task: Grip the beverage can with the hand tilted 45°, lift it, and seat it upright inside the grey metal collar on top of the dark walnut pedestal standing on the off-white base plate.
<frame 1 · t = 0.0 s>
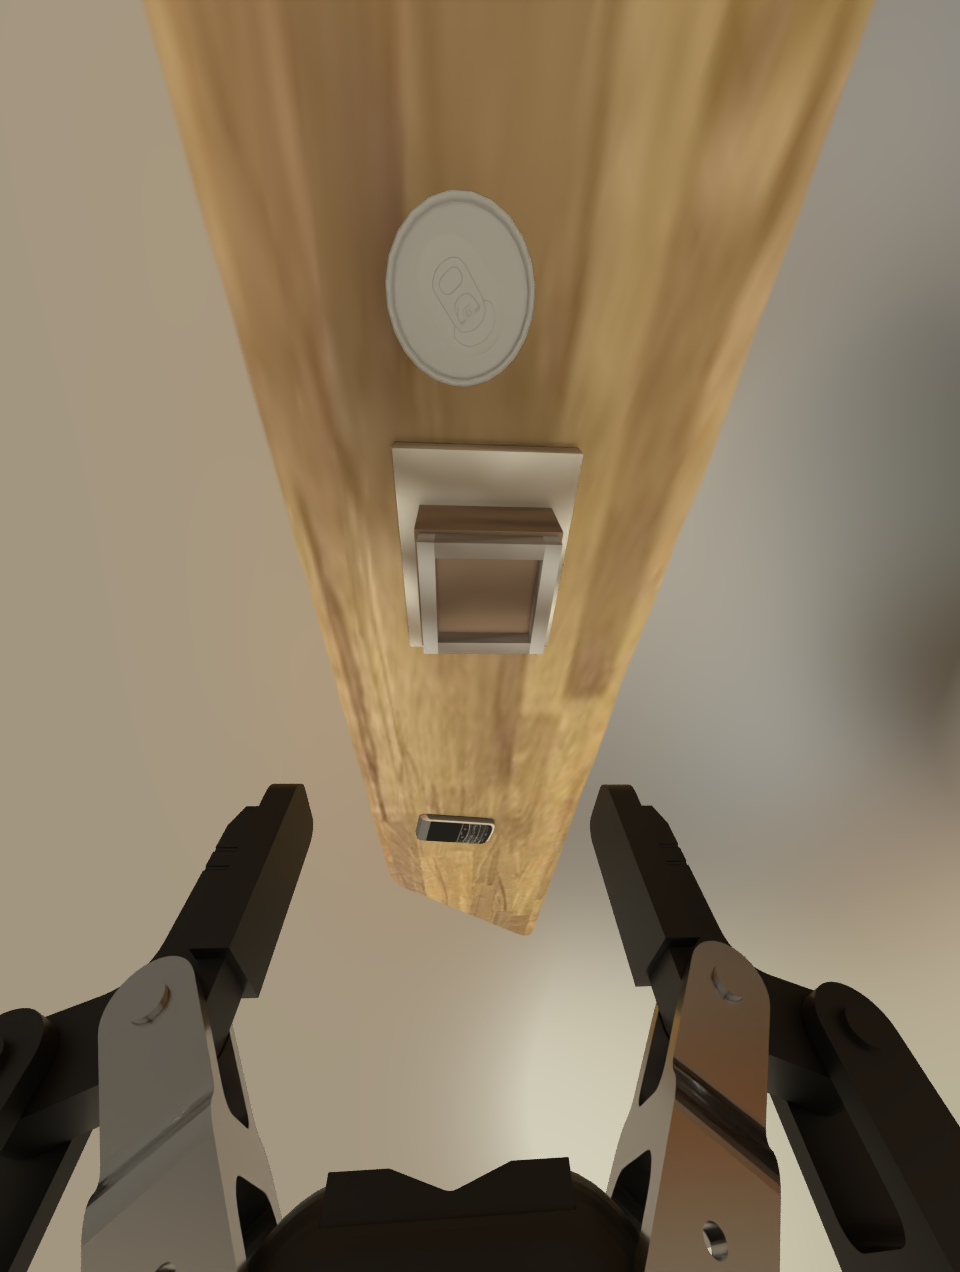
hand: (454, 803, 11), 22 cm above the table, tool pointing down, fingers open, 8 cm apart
cell phone: (455, 821, 59), on the table
pedestal base: (482, 555, 31), on the table
beverage can: (461, 306, 22), on the table
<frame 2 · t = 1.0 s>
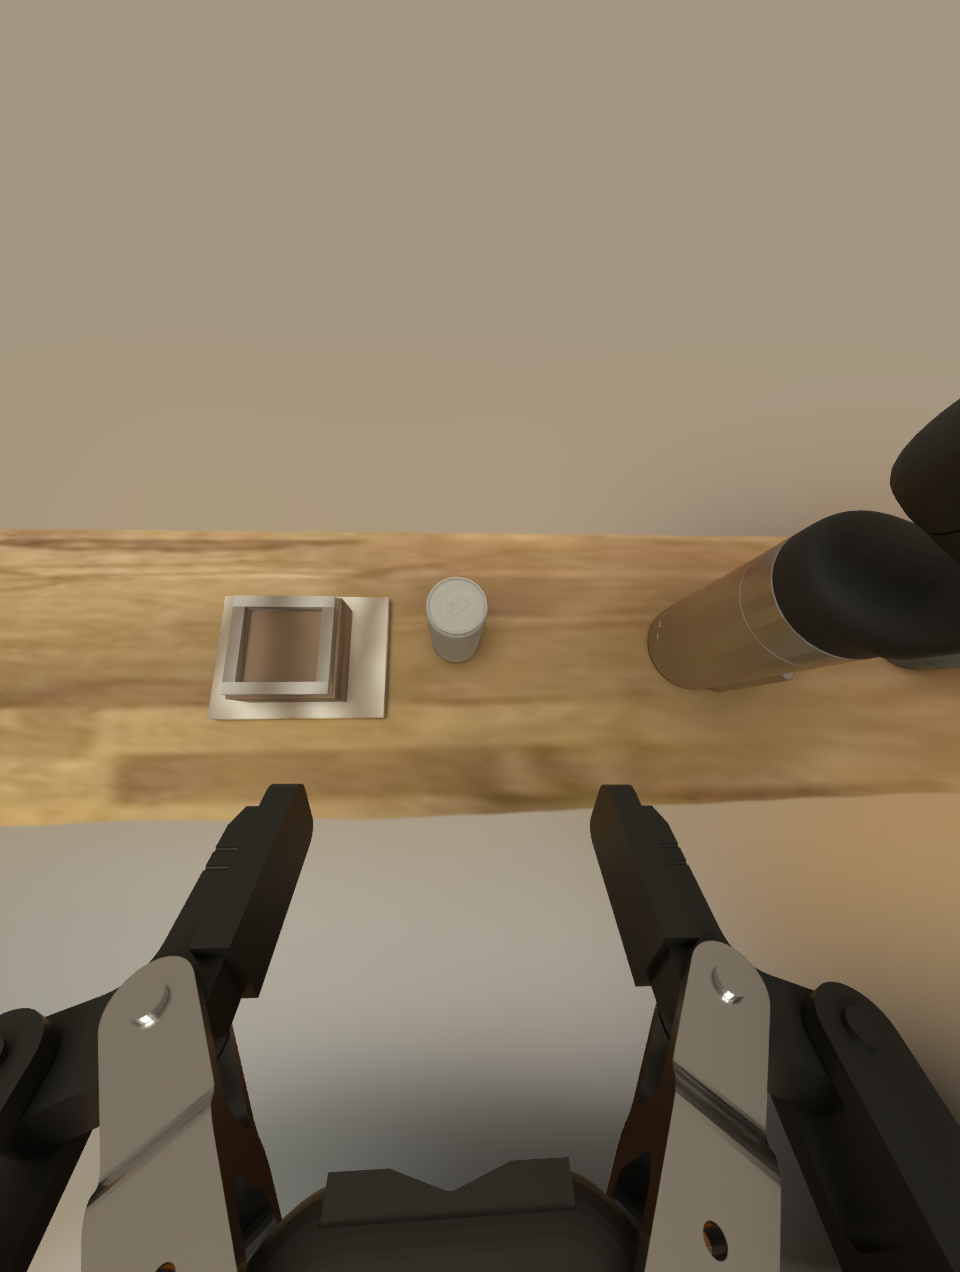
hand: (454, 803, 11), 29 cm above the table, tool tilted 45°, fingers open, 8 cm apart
pedestal base: (308, 658, 40), on the table
bottle: (899, 633, 45), on the table
beverage can: (456, 641, 42), on the table
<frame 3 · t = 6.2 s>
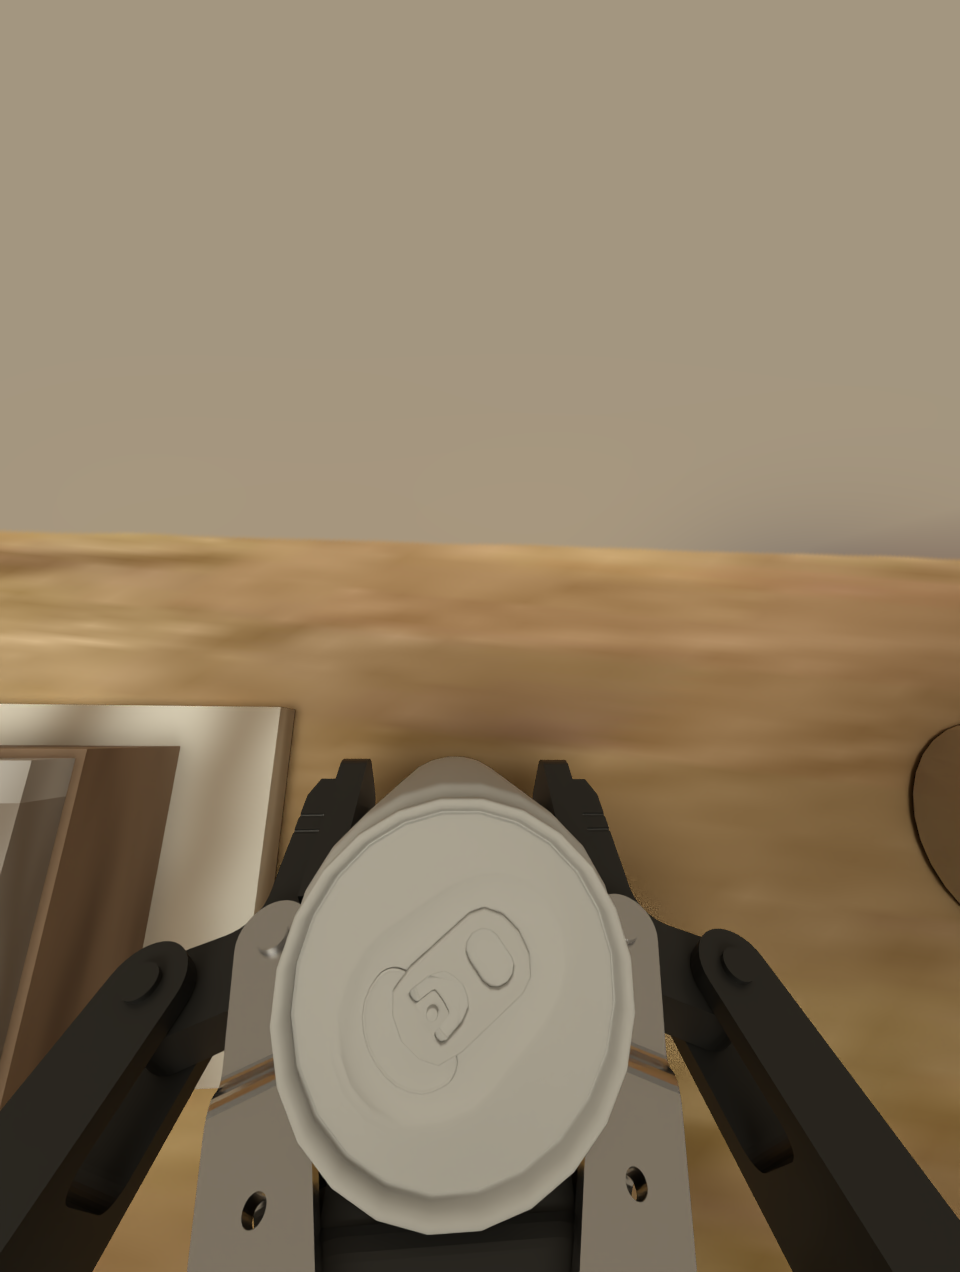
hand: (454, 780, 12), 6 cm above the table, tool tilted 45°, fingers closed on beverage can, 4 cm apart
pedestal base: (59, 867, 15), on the table
beverage can: (452, 813, 17), on the table, touching gripper
when the fingers open (12 cm above the table, at t = 10.7 s): beverage can stays where it is, resting on pedestal base.
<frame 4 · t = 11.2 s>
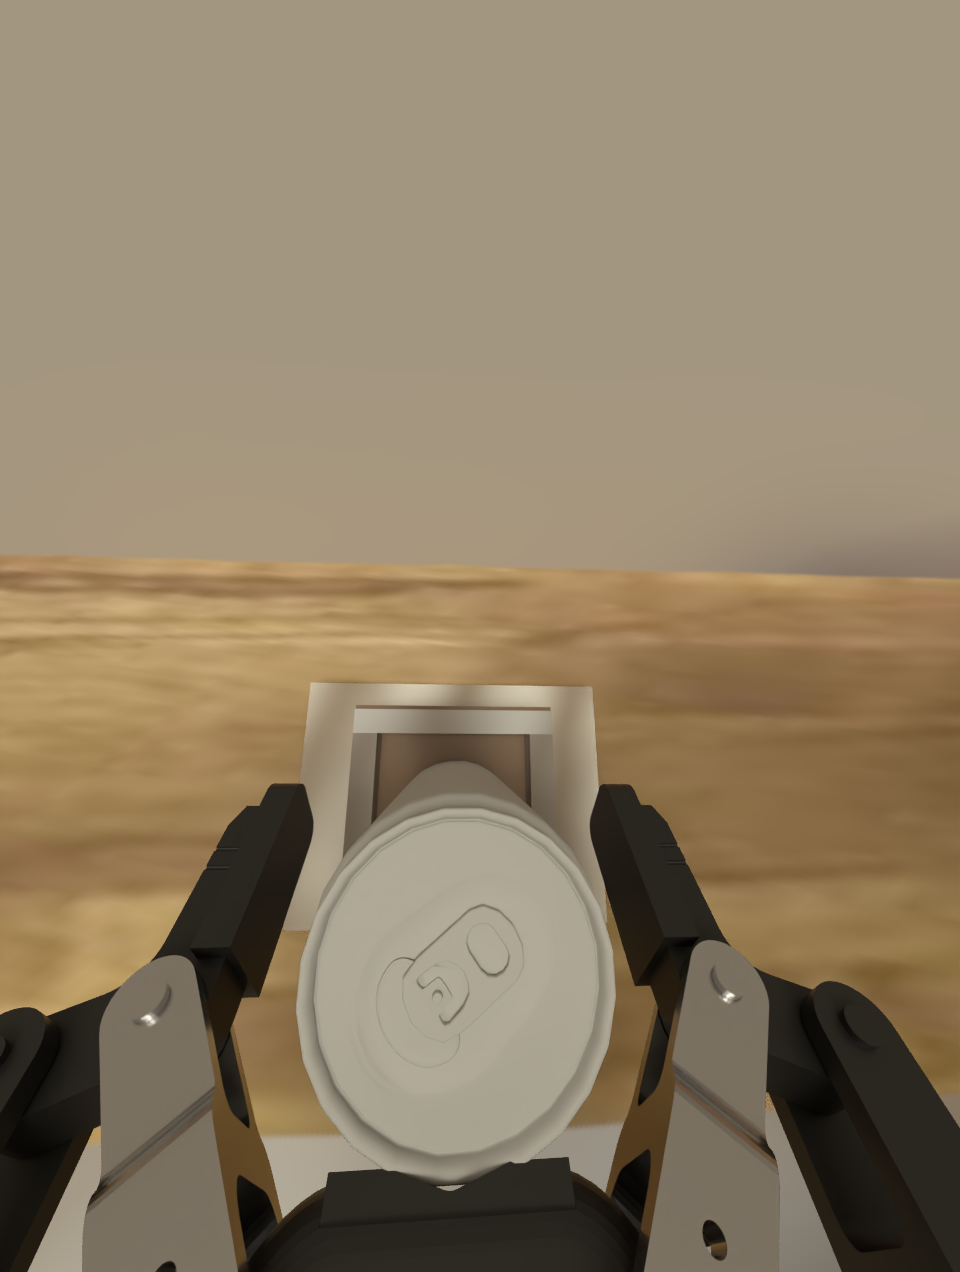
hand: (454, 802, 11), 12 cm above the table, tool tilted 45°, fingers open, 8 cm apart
pedestal base: (452, 793, 23), on the table
beverage can: (454, 814, 17), point 5 cm above the table, touching pedestal base
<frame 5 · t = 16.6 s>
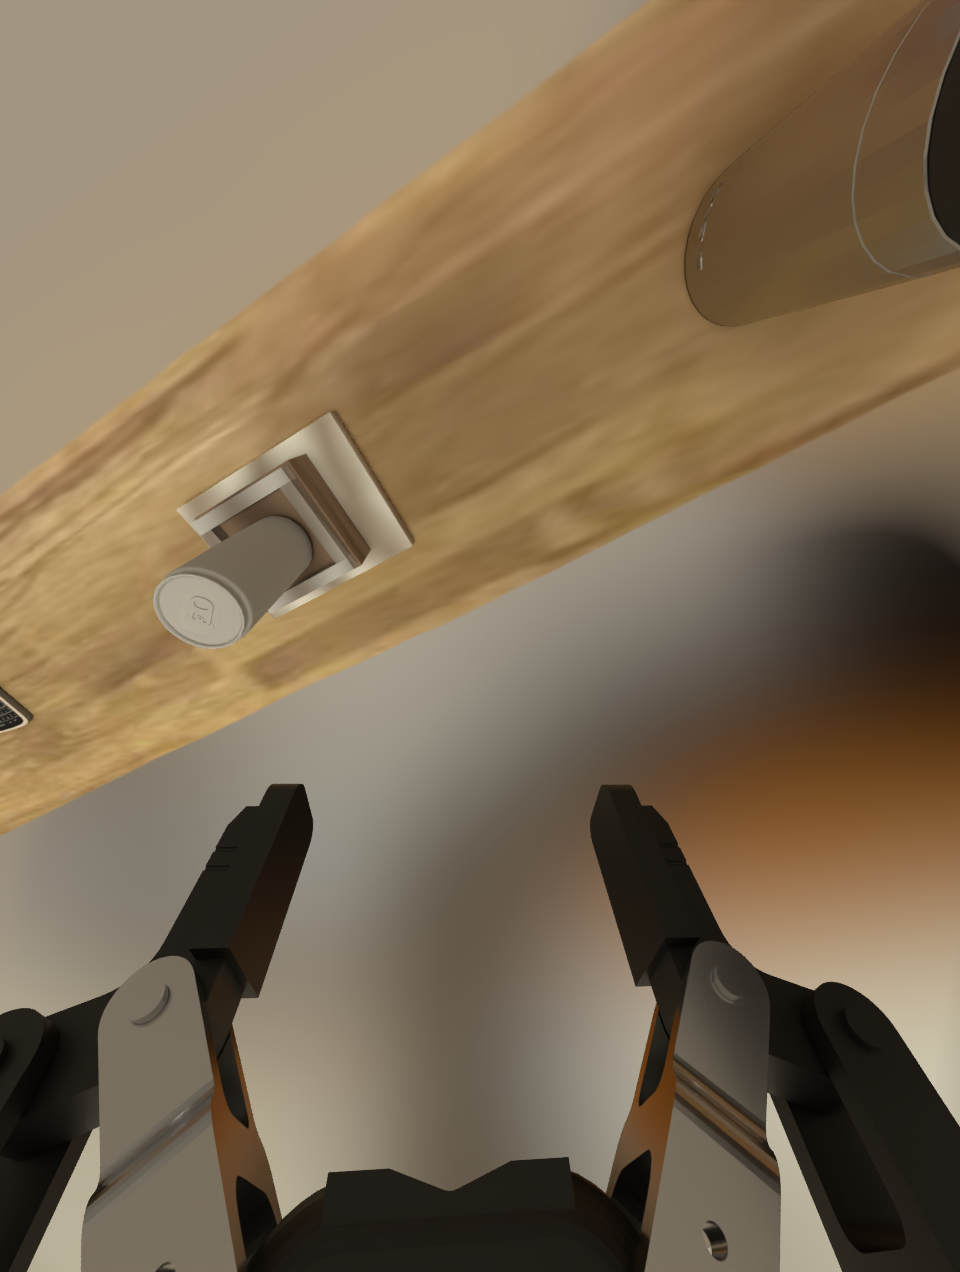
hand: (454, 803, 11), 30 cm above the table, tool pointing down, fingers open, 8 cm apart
pedestal base: (304, 524, 36), on the table
beverage can: (284, 543, 32), point 5 cm above the table, touching pedestal base
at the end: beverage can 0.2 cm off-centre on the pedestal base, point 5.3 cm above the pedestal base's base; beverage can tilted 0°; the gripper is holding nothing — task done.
